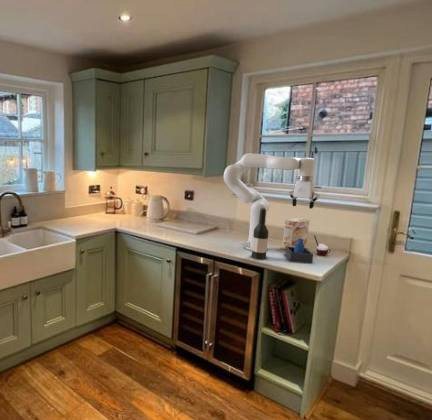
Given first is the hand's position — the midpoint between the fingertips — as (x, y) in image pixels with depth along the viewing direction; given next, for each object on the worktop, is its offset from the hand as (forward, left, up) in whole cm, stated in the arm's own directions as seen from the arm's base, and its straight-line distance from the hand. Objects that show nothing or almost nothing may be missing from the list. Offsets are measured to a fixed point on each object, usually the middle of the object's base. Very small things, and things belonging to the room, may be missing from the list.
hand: (302, 207), depth 216 cm
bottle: (-1, -7, -30) cm, 31 cm away
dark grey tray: (-1, -7, -30) cm, 31 cm away
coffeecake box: (+2, +16, -30) cm, 34 cm away
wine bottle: (-24, -12, -30) cm, 41 cm away
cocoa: (+15, +6, -30) cm, 34 cm away
